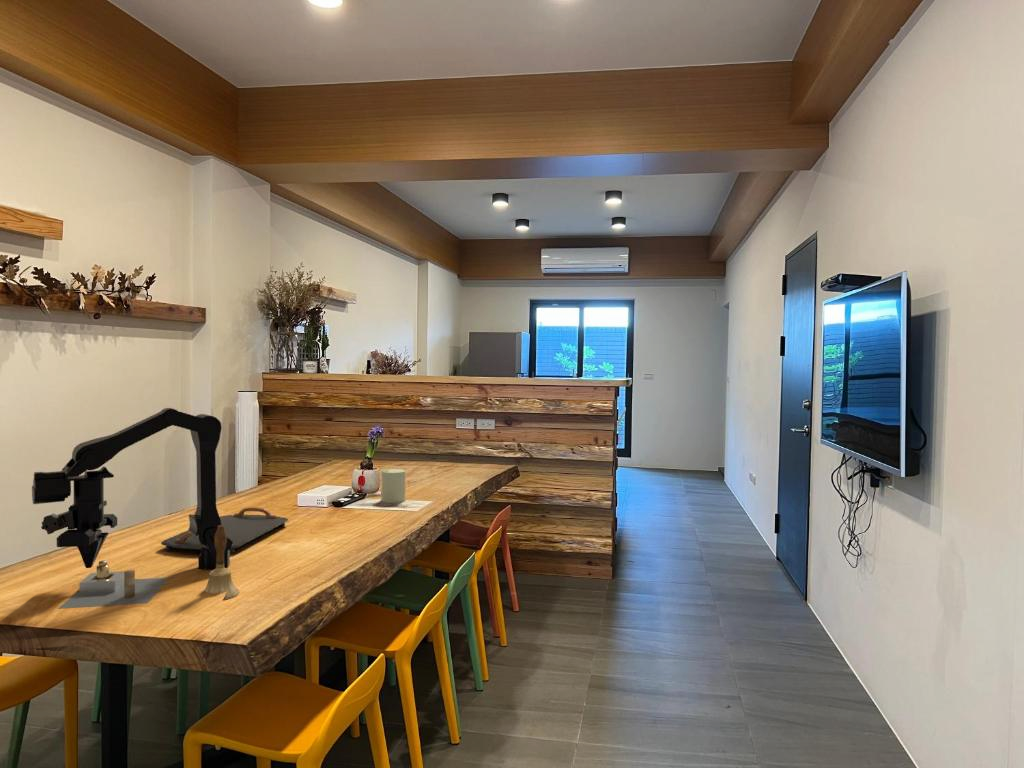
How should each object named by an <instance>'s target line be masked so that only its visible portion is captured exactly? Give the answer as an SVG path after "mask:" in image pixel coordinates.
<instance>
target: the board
mask: <svg viewBox="0 0 1024 768" xmlns="http://www.w3.org/2000/svg"><path fill="white" fill-rule="evenodd" d="M168 580H169V577H167V576H166V577H154V578H153V577H152V578H151V577H150V578H135V596H134V597H131V598H125V597H124V584H123V585H122V586H121V587H119V588H118V589H117V590H116V591H115V592H107V593H90V594H80V589H79V590H77V592H75V593H74V594H73V595H71V596H70V597H69V598H68V599H67V600H66V601H65V602H63V604H61V605H60V606H59V607H58V608H57V610H59V609H74V608H75V609H76V608H91V607H92V608H93V607H108V606H123V605H140V604H149V603H150V601H151V600H152V599H153V598H154V596H156V594H157V593H158V592H159V591H160V589H161V588H162V587H163V586H164V585H165V583H166V582H167V581H168Z"/></svg>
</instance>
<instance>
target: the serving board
mask: <svg viewBox="0 0 1024 768" xmlns="http://www.w3.org/2000/svg"><path fill="white" fill-rule="evenodd" d="M247 512H259V513H264V514H245V513H247ZM219 517H220V519H221V524H222V525H224V529H225V532H226V535H227V538H229V539H230V540H231V541H233V543H232V546H231V549H230V556H231V555H234V554H235V549H238V548H240V547H241V546H244V545H245V544H248V543H249V542H251V541H253V540H256V539H257V538H258V537H260V536H262V535H264V534H267V533H268V532H270V531H271V530H274V529H275V528H277V527H279V528H283V527H285V525H286V523H287V522H289V518H286V517H284V516H283V517H281V516H277V514H276V515H275V514H273V513H271V512H270V511H269V510H268V509H267V508H264V507H258V506H249V507H245V508H242V509H241V510H240V511H239V512H235V513H234V514H226V515H221V516H219ZM160 545H162V546H165V548H164V550H165V552H172V551H174V548H175V549H182V550H183V549H184V550H201V549H202V548H203V547H204V546H202V545H201V544H200V542H199V541H198V540H197V539H195V538H194V537H193V536H192V533H191V532H190V531H189V530H186V531H183V532H180V533H179V534H176V535H174V536H172V537H168V538H167V539H164V540H162V541H161V543H160Z"/></svg>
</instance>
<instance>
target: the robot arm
mask: <svg viewBox="0 0 1024 768" xmlns="http://www.w3.org/2000/svg"><path fill="white" fill-rule="evenodd" d="M172 426H175V427H178V428H182V429H185V430H189V431H190V436H191V440H192V442H193V447H194V448H195V453H196V455H195V456H196V503H197V504H196V510H195V512H194V514H188V520H189V528H188V530H189V531H190V532H191V533H192V536H193V537H194V538H195V539H197V540H198V541H199V542H200V544H201V545H202V546H204V547H203V548H202V549H200V554H199V555H198V557H197V558H198V562H197V563H198V568H197V569H198V570H207V571H212V570H214V569H216V562H217V561H216V560H217V552H216V548H215V543H214V538H215V533H216V531H217V527H218V526H219V525H222V524H221V519H220V517H221V516H220V515H219V512H218V509H217V478H216V476H217V471H216V470H217V468H216V465H217V464H216V463H217V462H216V461H217V460H216V458H217V457H216V451H217V448H218V446H219V443H220V439H221V435H222V434H221V433H222V423H221V421H220V420H219V419H218V418H217V417H216V416H213V415H209V414H205V413H201V414H197V415H193V414H189V413H186V412H182V411H179V410H177V409H175V408H171V407H165V408H163V409H162V410H161V411H158V412H156V413H154V414H152V415H150V416H149V417H146V418H144V419H142V420H141V421H138V422H136V423H133V424H132V425H130V426H127V427H124V428H123V429H121V430H119V431H116V432H115V433H113V434H109V435H105V436H102V437H96V438H93V439H90V440H86V441H84V442H80V443H79V444H77V445H76V446H75V447H74V448H73V450H72V454H71V459H69V461H68V462H67V463H65V465H64V467H63V468H62V469H61V470H60V471H59V470H58V471H35V472H33V481H32V486H31V498H32V499H31V500H32V504H33V505H42V504H52V503H60V502H65V500H66V499H68V498H69V497H71V494H72V482H73V504H71V505H70V506H69V507H68V511H67V510H66V511H65V512H61V513H59V514H56V513H54V512H53V513H51V514H49V515H46V516H44V517H43V521H42V522H41V530H44V531H46V533H47V535H51V534H54V533H55V532H57V531H60V530H63V529H66V528H67V530H65V531H64V532H62V533H60V534H59V535H58V536H57V537H56V547H57V548H69V547H70V548H72V547H74V548H75V547H77V550H78V551H79V554H80V556H81V559H82V562H83V564H84V568H85V569H90V568H93V567H94V564H95V562H96V559H97V557H98V555H99V553H100V551H101V548H102V547H103V545H104V543H105V541H106V538H107V537H108V535H109V532H107V531H106V532H102V531H103V530H102V529H101V528H103V527H107V526H109V527H110V528H112V529H115V527H117V526H118V517H117V516H116V515H115V514H114V513H104V510H105V508H104V507H106V506H107V505H108V504H107V500H104V497H105V496H104V492H105V491H104V490H105V489H104V488H105V487H104V484H105V483H104V479H110V478H111V479H112V478H114V477H115V475H114V474H113V473H112V472H110V471H109V470H108V468H107V467H106V466H103V465H105V464H107V463H108V462H109V461H111V460H112V459H113V458H114V457H116V455H118V454H119V453H120V452H121V451H123V450H124V449H127V448H129V447H130V446H133V445H135V444H136V443H139V442H140V441H143V440H145V439H146V438H149V437H151V436H153V435H155V434H157V433H159V432H161V431H163V430H166V429H167V428H169V427H172ZM98 468H100V469H98ZM97 469H98V470H97ZM188 530H187V531H188ZM232 543H233V541H231V540H230V539H229V538H227V543H226V548H225V551H224V567H225V568H226V569H228V568H229V567H230V566H231V564H230V563H231V558H230V557H231V555H230V549H231V546H232Z"/></svg>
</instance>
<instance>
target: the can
mask: <svg viewBox="0 0 1024 768" xmlns="http://www.w3.org/2000/svg"><path fill="white" fill-rule="evenodd" d="M406 471H407V470H405V469H401V468H388V469H387V468H386V469H381V497H380V498H381V499H380V501H381V503H385V504H399V503H404V502H405V501H406Z"/></svg>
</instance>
